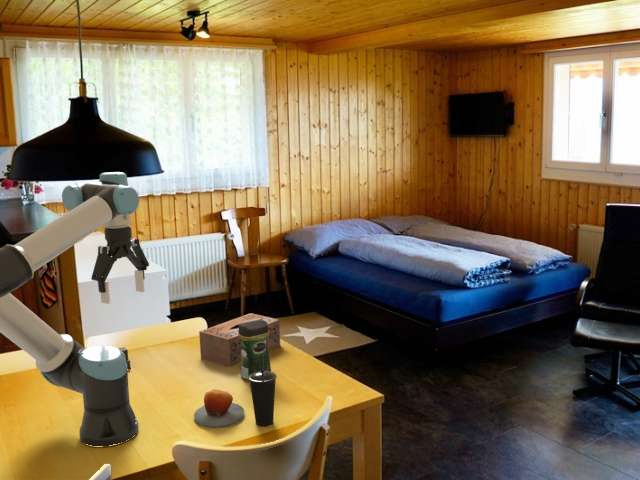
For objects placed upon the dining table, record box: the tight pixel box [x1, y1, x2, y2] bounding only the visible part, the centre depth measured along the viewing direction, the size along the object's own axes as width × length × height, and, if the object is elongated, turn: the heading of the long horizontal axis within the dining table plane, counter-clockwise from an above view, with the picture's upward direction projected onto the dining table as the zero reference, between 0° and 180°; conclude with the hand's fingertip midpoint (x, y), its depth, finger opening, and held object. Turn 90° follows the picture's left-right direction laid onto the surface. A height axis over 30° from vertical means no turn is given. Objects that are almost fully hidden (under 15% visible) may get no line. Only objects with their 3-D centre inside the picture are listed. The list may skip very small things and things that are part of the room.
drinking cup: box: [248, 354, 278, 428], centre depth 183 cm, size 8×8×20 cm
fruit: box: [203, 388, 234, 418], centre depth 188 cm, size 8×8×8 cm
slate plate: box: [193, 402, 245, 429], centre depth 189 cm, size 14×14×1 cm
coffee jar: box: [238, 319, 272, 381], centre depth 216 cm, size 10×8×19 cm
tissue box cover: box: [198, 312, 281, 368], centre depth 240 cm, size 26×14×10 cm, turn 142°
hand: (123, 297), depth 197 cm, fingers open, 13 cm apart
